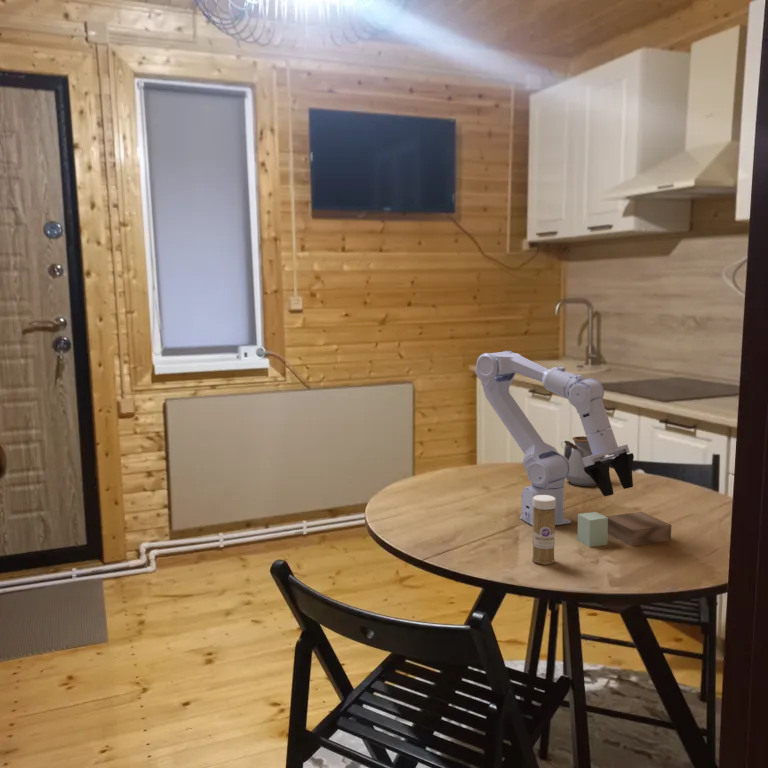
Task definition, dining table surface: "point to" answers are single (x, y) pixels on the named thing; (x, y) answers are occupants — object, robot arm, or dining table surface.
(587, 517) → the sage block
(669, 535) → the walnut block
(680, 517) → the dining table surface
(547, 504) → the sprinkles bottle
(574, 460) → the coffee pot
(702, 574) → the dining table surface
